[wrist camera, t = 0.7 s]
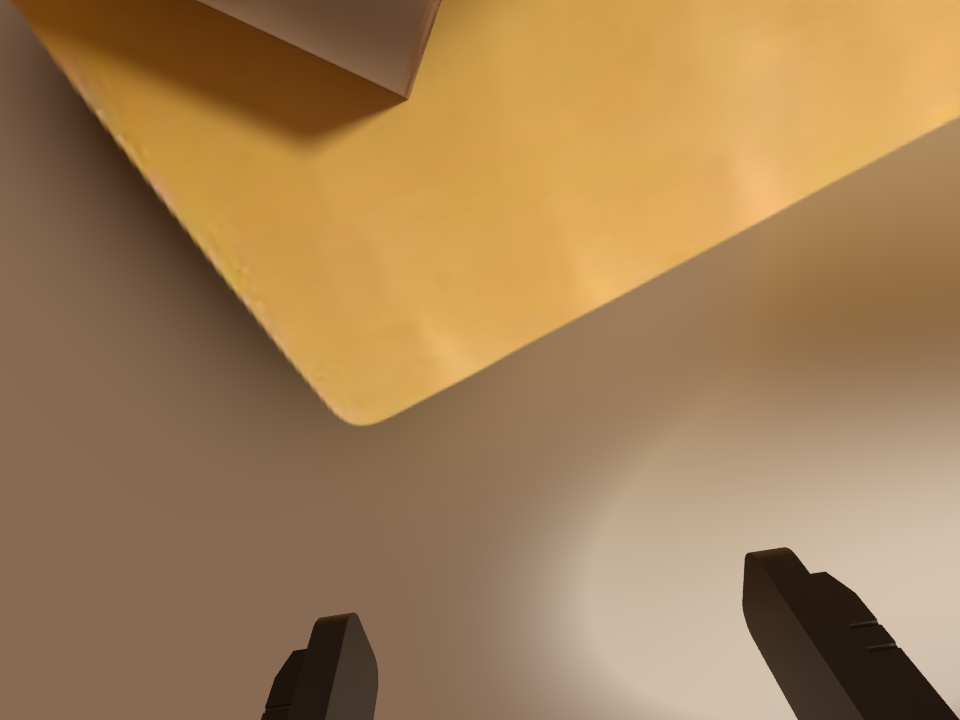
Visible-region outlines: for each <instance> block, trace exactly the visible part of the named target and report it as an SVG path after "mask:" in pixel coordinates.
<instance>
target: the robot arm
mask: <svg viewBox="0 0 960 720" xmlns="http://www.w3.org/2000/svg"><path fill="white" fill-rule="evenodd" d="M742 603H743V604H742V606H743V612H744V616H745V620H746V623H747V626H748V629H749V631H750V633H751V635H752V638H753V639H754V641H755V643H756V645H757V646H758V649H759V650H760V652H761V654H762V656H763V658H764V659H765V661H766V663H767V665H768V667H769V668H770V670H771V672H772V674H773V675H774V677H775V679H776V681H777V683H778V685H779V686H780V688H781V690H782V692H783V693H784V695H785V697H786V699H787V701H788V703H789V704H790V706H791V708H792V710H793V711H794V713H795V715H796V717H797V719H798V720H959V718H958V717H957V716H956V715H955V713H954V712H953V711H952V710H951V709H950V707H949V706H948V705H947V704H946V703H945V701H944V700H943V699H942V698H941V697H940V695H939V694H938V693H937V692H936V690H935V689H934V688H933V687H932V686H931V684H930V683H929V682H928V681H927V679H926V678H925V677H924V676H923V675H922V673H921V672H920V671H919V670H918V669H917V667H916V666H915V665H914V664H913V662H912V661H911V660H910V659H909V658H908V656H907V655H906V654H905V653H904V652H903V650H902V649H901V648H898V647H897V645H896V642H895V641H894V639H893V638H892V637H891V636H890V635H889V633H888V632H887V631H886V630H885V628H884V627H883V626H882V625H879V624H878V622H877V619H876V618H875V616H874V615H873V614H872V613H871V612H870V610H869V609H868V608H867V607H866V605H865V604H864V603H863V602H862V601H861V599H860V598H859V597H858V596H857V594H856V593H855V592H853V591H852V590H851V589H849V588H848V587H846V586H845V585H844V584H842V583H841V582H839V581H838V580H837V579H835V578H834V577H832V576H831V575H829V574H828V573H827V572H820V573H813V574H810V573H809V572H808V571H807V569H806V568H805V566H804V565H803V564H802V562H801V561H800V560H799V559H798V557H797V556H796V555H795V554H794V552H792V550H790V549H789V548H786V547H784V548H777V549H771V550H764V551H758V552H751V553H747V554H746V556H745V565H744V583H743V600H742ZM377 691H378V669H377V663H376V659H375V655H374V653H373V651H372V649H371V646H370V644H369V641H368V639H367V636H366V634H365V632H364V630H363V627H362V624H361V622H360V620H359V617H358V615H357V614H356V613H348V614H342V615H335V616H329V617H322V618H319V619H318V620H317V621H316V622H315V625H314V627H313V630H312V634H311V637H310V641H309V644H308V648H307V649H303V650H296V651H293V652H292V654H291V655H290V657H289V658H288V660H287V661H286V662H285V664H284V665H283V667H282V668H281V670H280V671H279V673H278V674H277V676H276V677H275V679H274V682H273V685H272V688H271V691H270V694H269V697H268V700H267V703H266V706H265V708H266V711H265V713H263V715H262V718H261V720H373V718H374V712H375V705H376V698H377Z"/></svg>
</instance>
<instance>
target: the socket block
mask: <svg viewBox="0 0 960 720" xmlns="http://www.w3.org/2000/svg"><path fill="white" fill-rule="evenodd" d="M195 1H197V2H199V3H201V4H203V5H205V6H208V7H210V8H212V9H214V10H216V11H218V12H220V13H223V14H225V15H227V16H229V17H231V18H233V19H236V20H238V21H240V22H242V23H244V24H246V25H248V26H251V27H253V28H255V29H257V30H259V31H261V32H264V33H266V34H268V35H270V36H272V37H274V38H276V39H279V40H281V41H283V42H285V43H287V44H289V45H292V46H294V47H296V48H298V49H300V50H302V51H304V52H307V53H309V54H311V55H313V56H315V57H317V58H320V59H322V60H324V61H326V62H328V63H330V64H333V65H335V66H337V67H339V68H341V69H343V70H345V71H348V72H350V73H352V74H354V75H356V76H358V77H361V78H363V79H365V80H367V81H369V82H371V83H373V84H376V85H378V86H380V87H382V88H384V89H386V90H389V91H391V92H393V93H395V94H397V95H399V96H401V97H404V98H406V99H409V96H410V93H411V90H412V87H413V84H414V81H415V78H416V75H417V72H418V69H419V66H420V63H421V60H422V57H423V54H424V51H425V48H426V45H427V42H428V39H429V36H430V33H431V30H432V27H433V24H434V20H435V17H436V14H437V11H438V8H439V5H440V2H441V0H195Z"/></svg>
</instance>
